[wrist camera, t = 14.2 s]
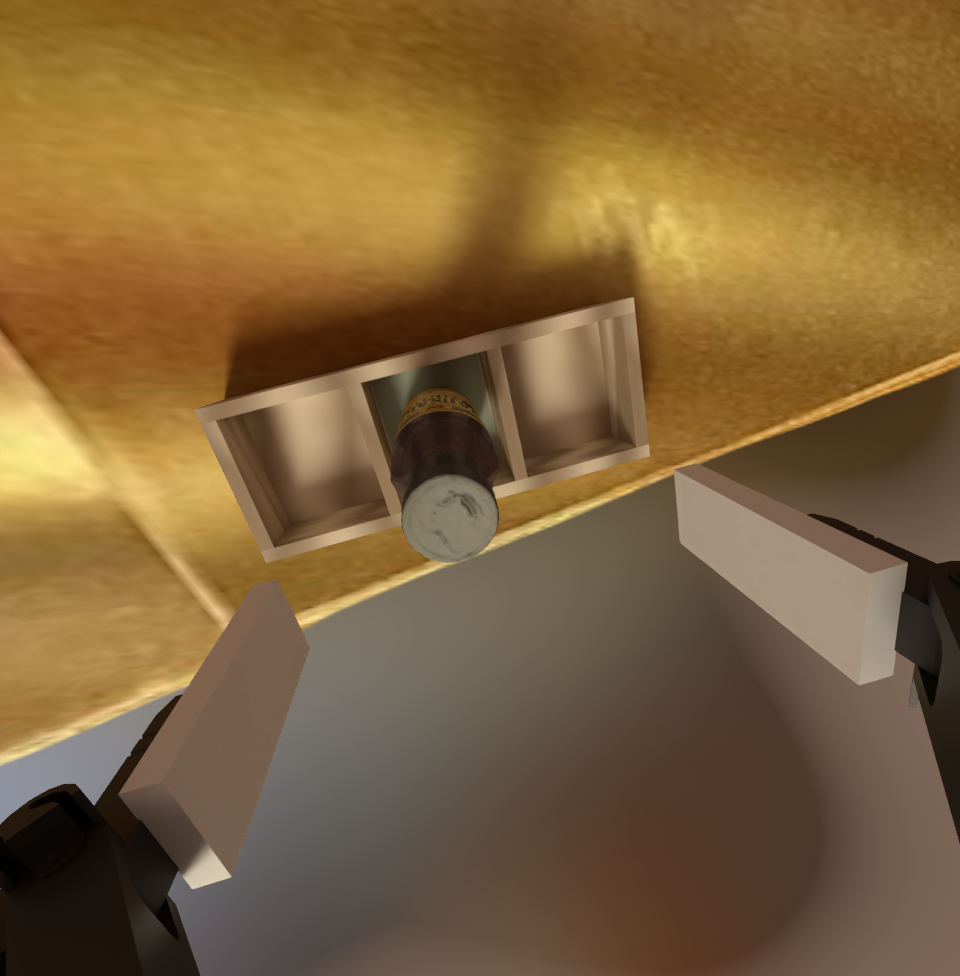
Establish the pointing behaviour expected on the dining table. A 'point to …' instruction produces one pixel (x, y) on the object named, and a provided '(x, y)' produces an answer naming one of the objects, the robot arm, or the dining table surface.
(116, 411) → the dining table surface
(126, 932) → the robot arm
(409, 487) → the sauce bottle
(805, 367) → the dining table surface
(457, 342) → the condiment rack
